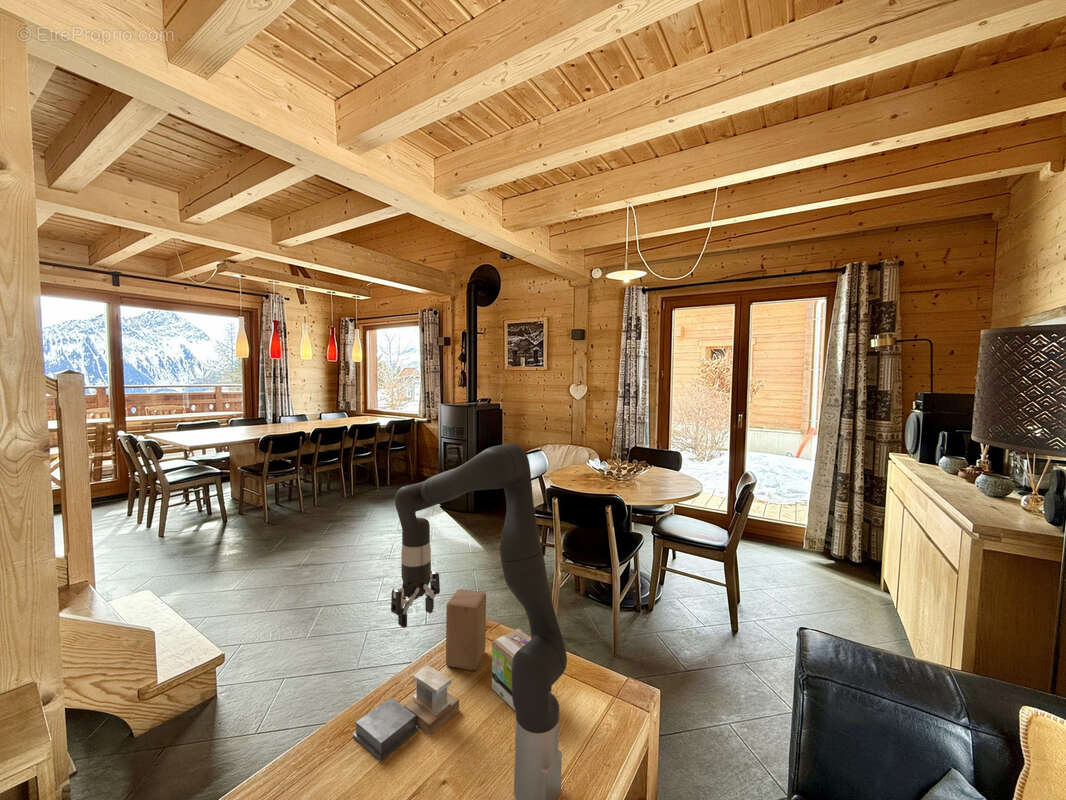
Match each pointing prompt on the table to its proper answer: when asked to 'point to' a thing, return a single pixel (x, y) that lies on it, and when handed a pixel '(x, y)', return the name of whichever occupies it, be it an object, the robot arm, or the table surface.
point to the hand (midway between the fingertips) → (416, 619)
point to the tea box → (506, 662)
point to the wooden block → (465, 629)
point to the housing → (432, 690)
